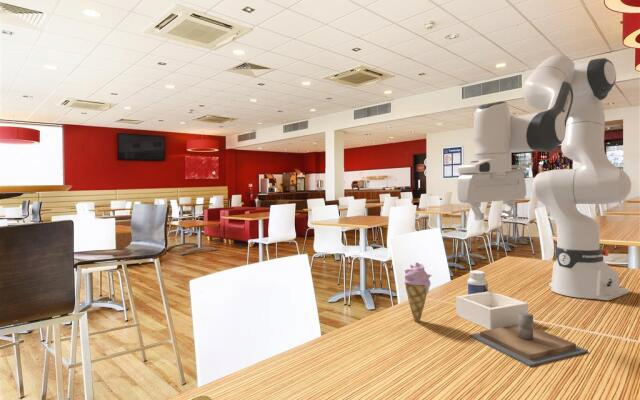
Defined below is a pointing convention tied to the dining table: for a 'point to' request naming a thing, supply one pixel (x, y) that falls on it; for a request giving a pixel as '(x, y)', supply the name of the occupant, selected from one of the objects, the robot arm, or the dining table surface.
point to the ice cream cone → (417, 289)
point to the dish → (490, 309)
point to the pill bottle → (477, 282)
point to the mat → (532, 361)
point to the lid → (527, 339)
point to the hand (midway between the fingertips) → (493, 218)
